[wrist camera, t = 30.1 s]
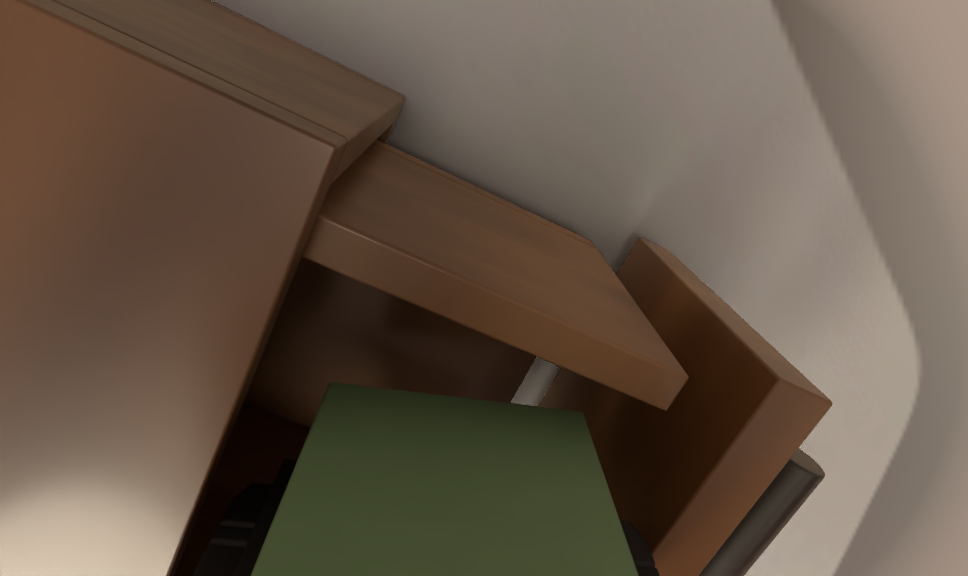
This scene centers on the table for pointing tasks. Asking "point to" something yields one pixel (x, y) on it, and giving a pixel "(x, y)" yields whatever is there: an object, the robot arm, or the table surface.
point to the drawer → (513, 348)
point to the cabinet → (147, 258)
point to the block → (444, 492)
